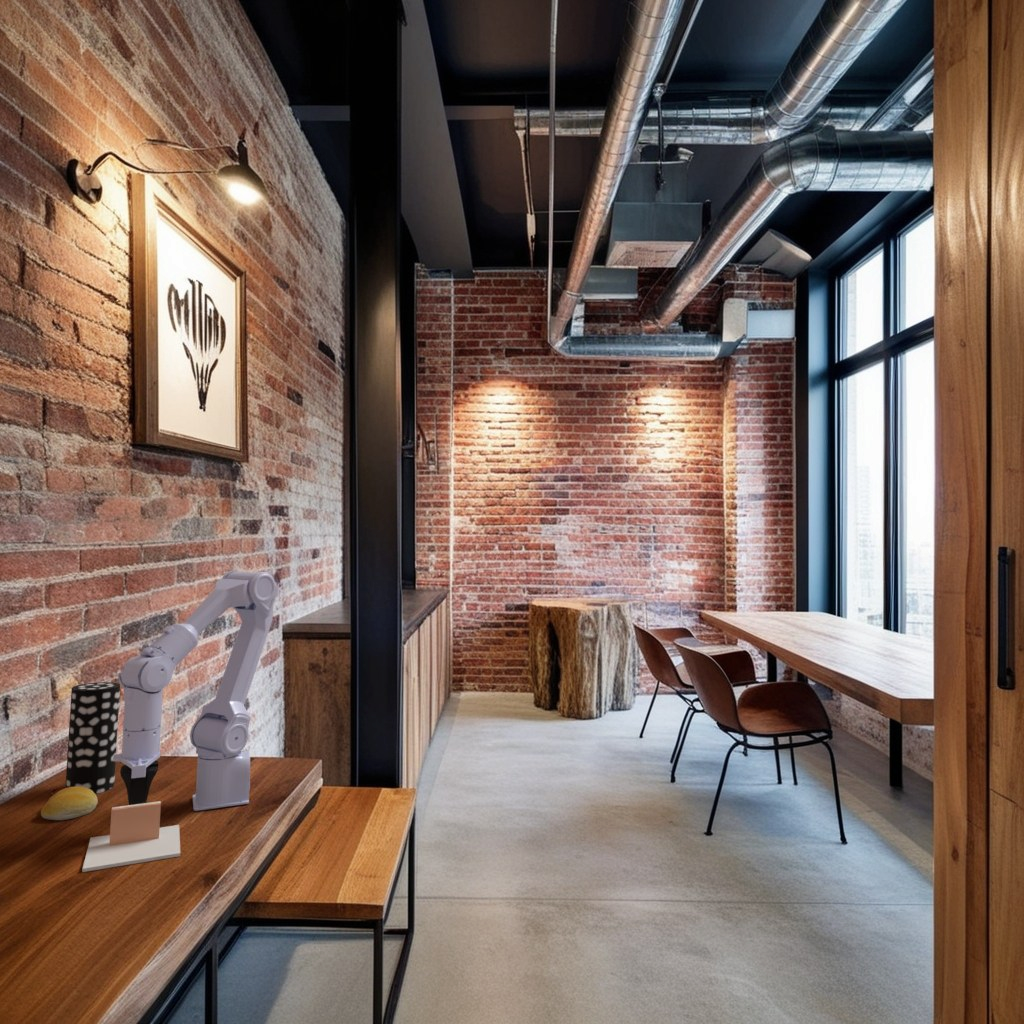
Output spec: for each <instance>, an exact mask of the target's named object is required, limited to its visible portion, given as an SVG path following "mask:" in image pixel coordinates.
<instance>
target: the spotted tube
mask: <svg viewBox="0 0 1024 1024" xmlns="http://www.w3.org/2000/svg"><path fill="white" fill-rule="evenodd" d="M120 692H121V684H120V682H112V681H111V682H108V681H107V682H106V681H105V682H91V683H90V682H89V683H82V684H78V685H73V686H72V687H71V692H70V695H71V697H70V709H69V710H70V711H69V725H68V737H67V738H68V739H67V740H68V741H67V753H66V754H67V757H66V768H65V769H66V770H65V786H64V789H65V788H69V787H85V788H88V789H90V790H92V791H93V792H94V793H95V794H97V795H98V794H100V793H104V792H106V791H109V790H111V789H113V787H115V780H116V762H117V761H116V762H115V761H113V757H114V755H116V754H117V744H118V728H119V727H118V725H119V710H120Z"/></svg>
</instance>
